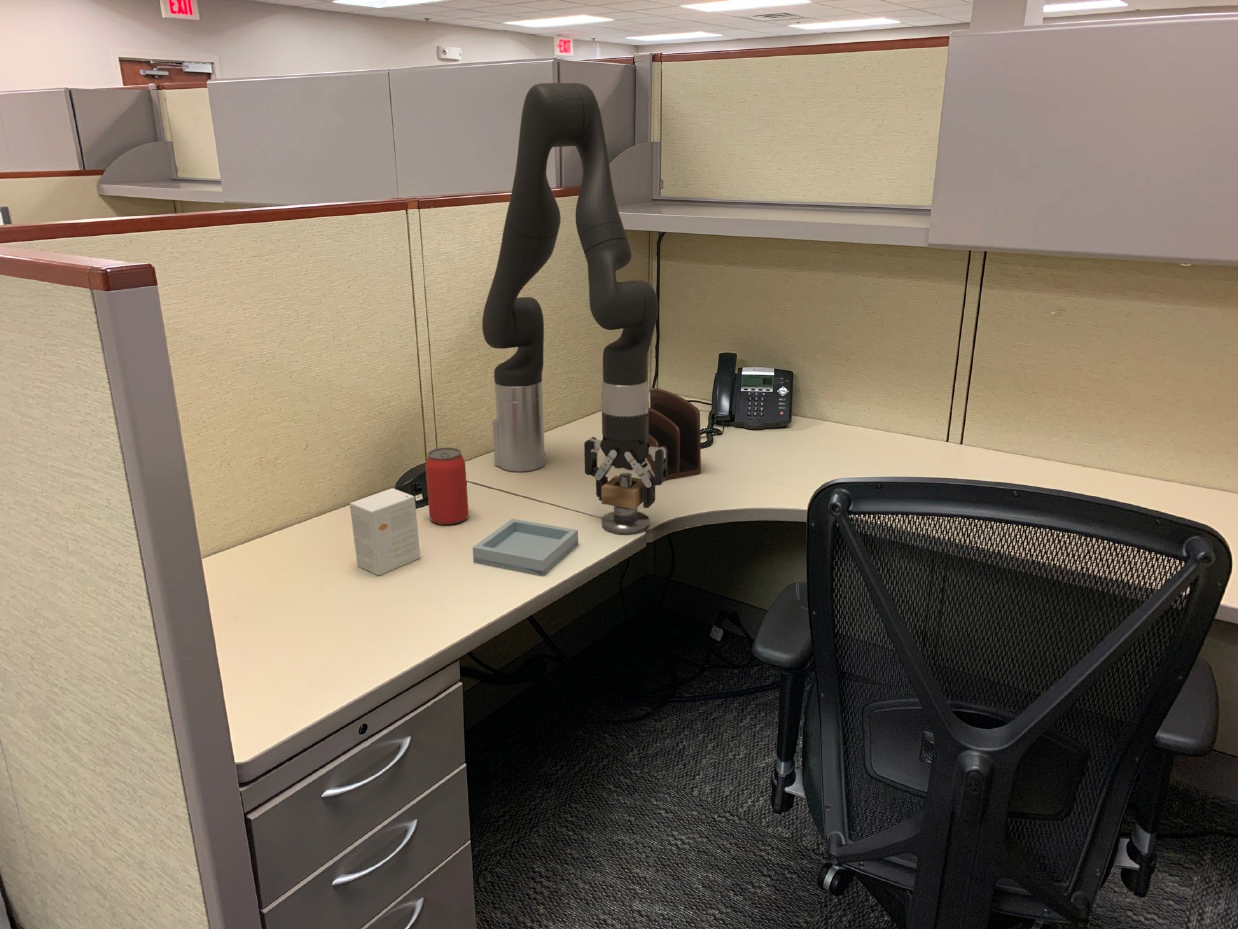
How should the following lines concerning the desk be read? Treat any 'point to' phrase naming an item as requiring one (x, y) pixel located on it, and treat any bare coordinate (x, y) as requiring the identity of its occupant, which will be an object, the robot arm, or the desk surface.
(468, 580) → the desk surface
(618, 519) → the stepped metal shaft
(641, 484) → the wooden block
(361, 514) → the small box
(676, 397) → the letter holder
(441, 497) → the beer can
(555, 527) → the tray
